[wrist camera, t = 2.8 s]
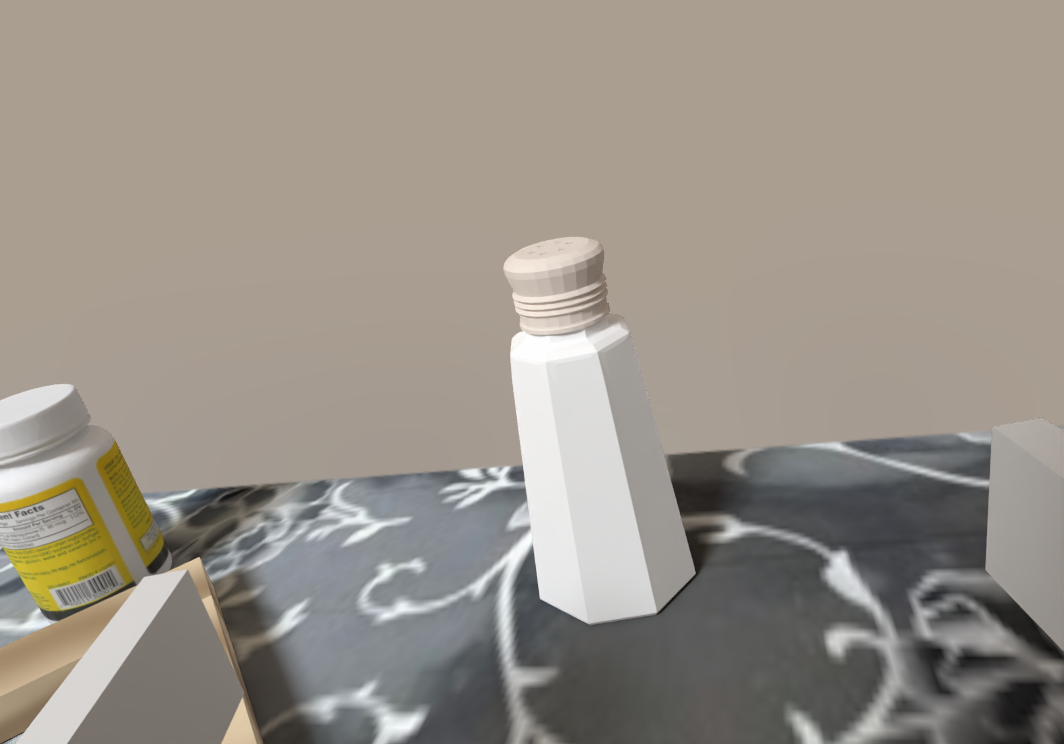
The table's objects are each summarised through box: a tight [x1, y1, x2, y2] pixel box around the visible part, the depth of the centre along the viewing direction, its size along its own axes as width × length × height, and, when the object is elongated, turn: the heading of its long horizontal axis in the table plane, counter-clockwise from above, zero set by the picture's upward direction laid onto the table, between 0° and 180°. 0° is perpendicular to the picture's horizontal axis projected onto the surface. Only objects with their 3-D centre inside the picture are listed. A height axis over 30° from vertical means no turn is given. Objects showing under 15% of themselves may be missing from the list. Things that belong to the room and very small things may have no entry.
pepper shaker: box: [504, 237, 696, 625], centre depth 22 cm, size 5×5×11 cm
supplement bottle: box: [0, 384, 172, 624], centre depth 27 cm, size 5×5×8 cm
